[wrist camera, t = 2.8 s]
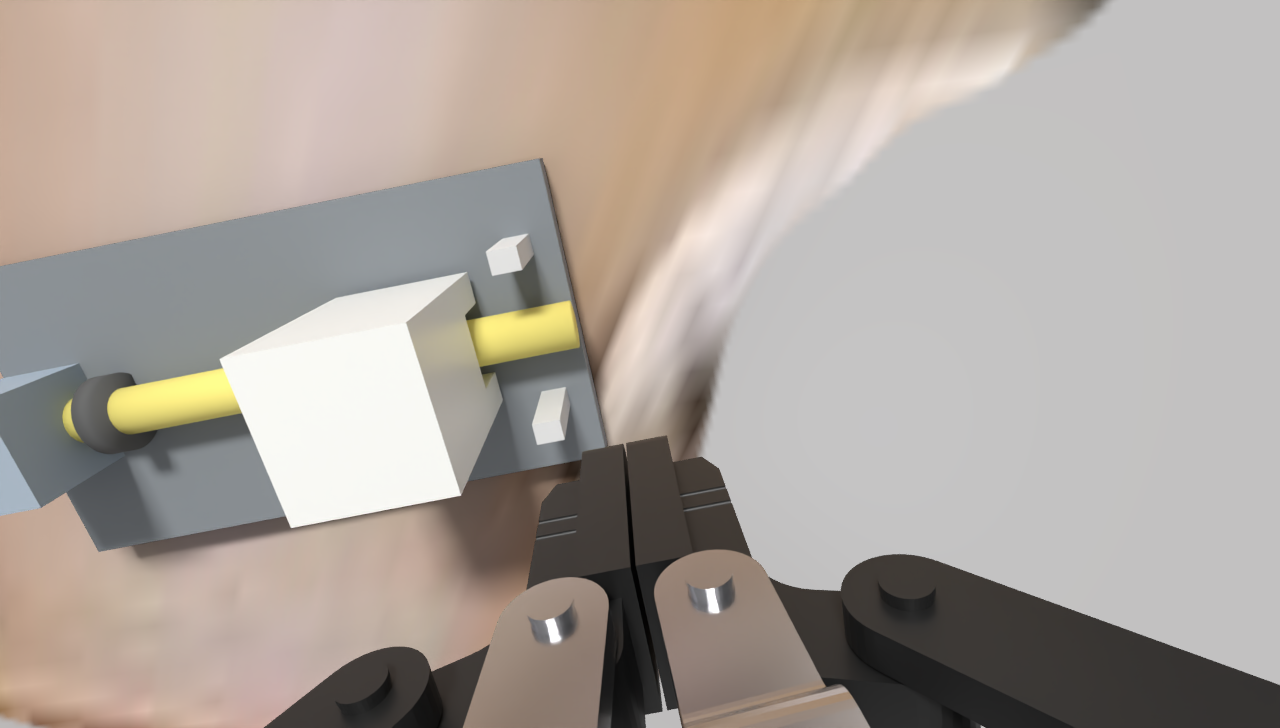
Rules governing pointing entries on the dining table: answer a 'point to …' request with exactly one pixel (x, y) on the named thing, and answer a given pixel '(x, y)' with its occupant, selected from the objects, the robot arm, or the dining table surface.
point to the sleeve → (368, 401)
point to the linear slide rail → (250, 308)
